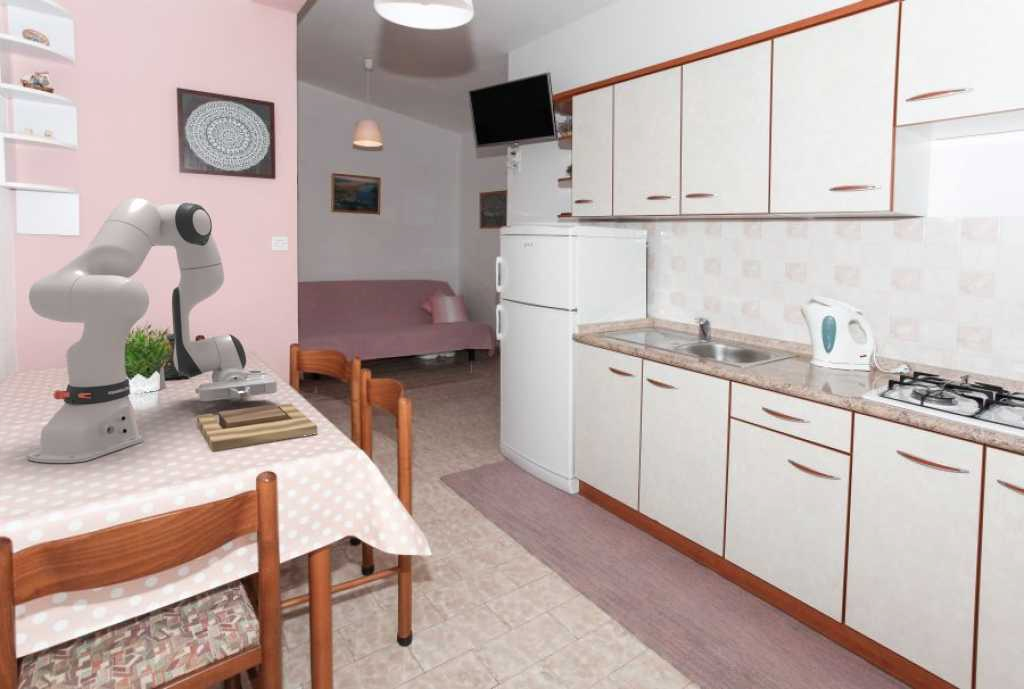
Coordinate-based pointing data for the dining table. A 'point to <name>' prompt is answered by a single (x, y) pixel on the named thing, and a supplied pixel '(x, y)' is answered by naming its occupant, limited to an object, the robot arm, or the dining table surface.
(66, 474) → the dining table surface
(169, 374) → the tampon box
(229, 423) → the plank
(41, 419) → the dining table surface
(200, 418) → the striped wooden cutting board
